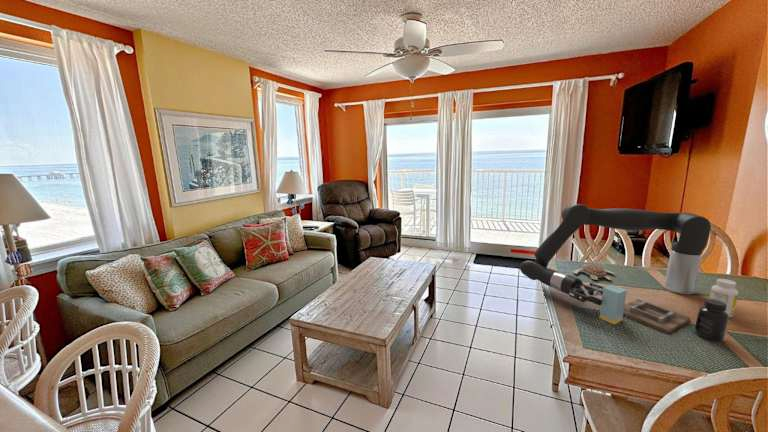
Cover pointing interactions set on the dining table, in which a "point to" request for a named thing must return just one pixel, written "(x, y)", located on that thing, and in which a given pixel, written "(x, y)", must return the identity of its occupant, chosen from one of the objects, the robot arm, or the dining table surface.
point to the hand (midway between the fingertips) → (608, 300)
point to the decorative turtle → (594, 271)
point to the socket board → (654, 316)
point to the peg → (613, 304)
